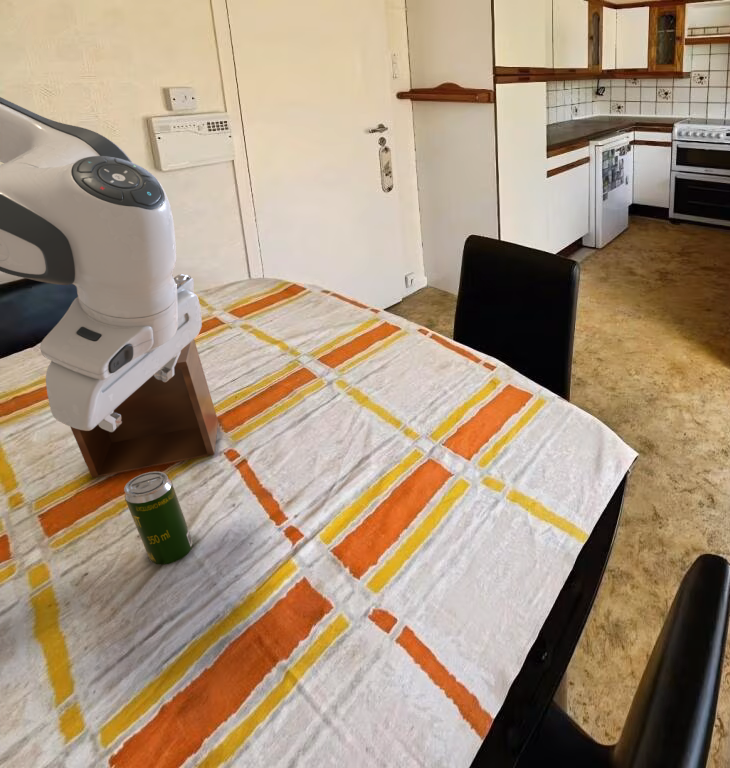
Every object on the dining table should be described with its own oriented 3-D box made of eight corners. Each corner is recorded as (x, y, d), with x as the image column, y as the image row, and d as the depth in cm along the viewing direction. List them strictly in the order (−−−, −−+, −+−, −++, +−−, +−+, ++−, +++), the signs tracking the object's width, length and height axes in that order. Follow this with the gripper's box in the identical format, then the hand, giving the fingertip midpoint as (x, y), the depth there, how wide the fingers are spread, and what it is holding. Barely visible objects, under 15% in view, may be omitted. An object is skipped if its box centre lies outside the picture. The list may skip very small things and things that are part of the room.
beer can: (189, 535, 87) (164, 465, 82) (199, 556, 84) (174, 485, 78) (147, 552, 85) (118, 481, 79) (155, 575, 81) (125, 502, 75)
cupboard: (93, 482, 99) (51, 382, 90) (107, 445, 108) (70, 352, 99) (215, 458, 104) (186, 361, 95) (219, 425, 113) (192, 334, 105)
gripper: (166, 256, 74) (169, 342, 83) (24, 354, 58) (47, 447, 67) (216, 277, 74) (214, 361, 83) (88, 380, 58) (102, 469, 67)
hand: (138, 400), depth 75 cm, fingers open, 8 cm apart
